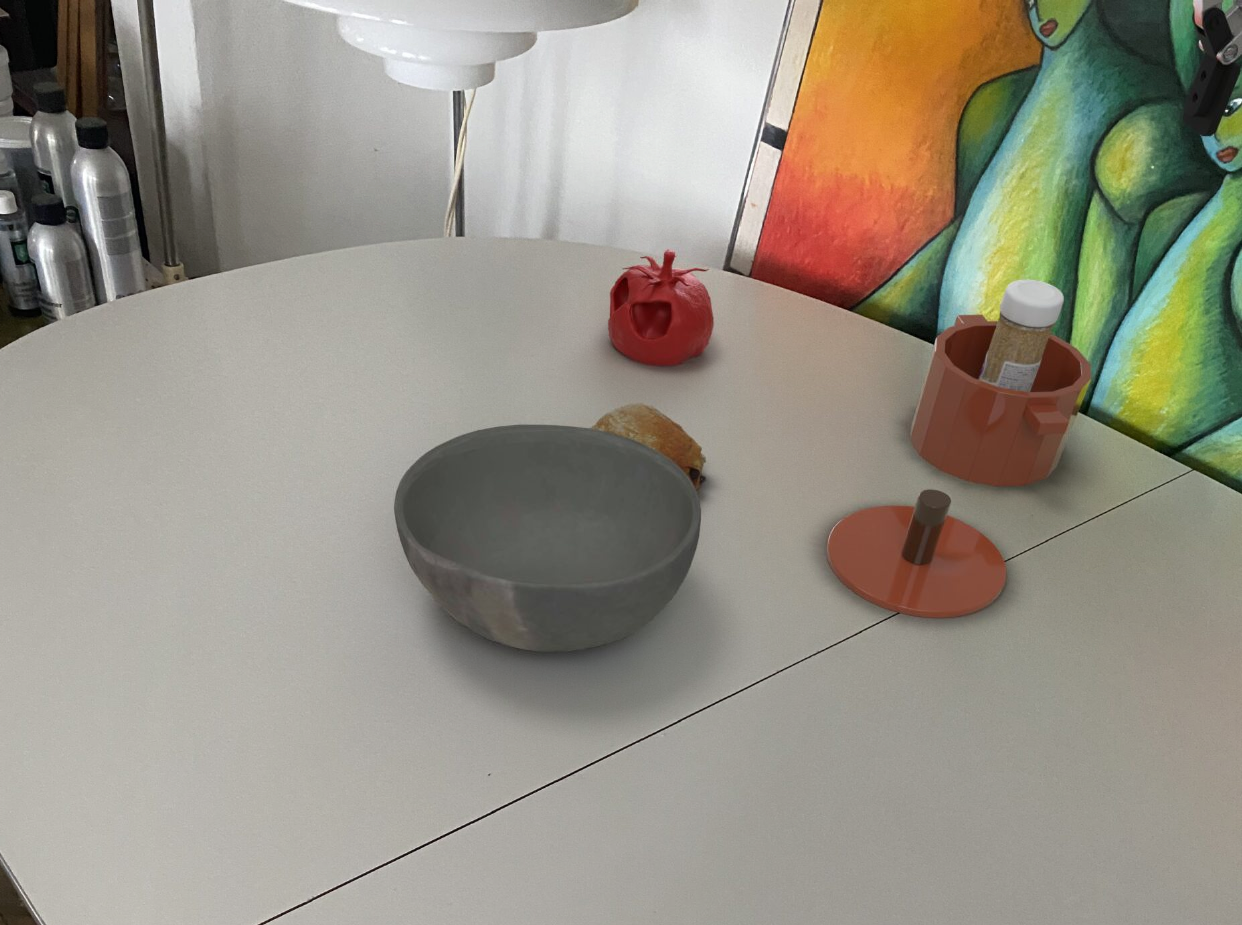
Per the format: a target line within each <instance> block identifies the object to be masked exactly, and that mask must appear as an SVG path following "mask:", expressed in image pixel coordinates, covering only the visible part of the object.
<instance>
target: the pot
mask: <svg viewBox="0 0 1242 925" xmlns="http://www.w3.org/2000/svg"><path fill="white" fill-rule="evenodd" d="M997 323H998V320H987V319H986V317H985V316H984V315H983V314H957V315H956V317H955V321H954V324H953V326H949V327H947V328H946V329H945V330H944V331H943V332H942V333H940V334H939V335H938V336H937V337H936V338H935V341H934V344H933V347H932V351H931V354H930V358H929V362H928V365H927V369H926V372H925V375H924V379H923V383H922V386H921V390H920V393H919V398H918V401H917V404H916V408H915V411H914V415H913V418H912V422H911V426H910V434H909V441H910V444H912V446H913V448H914V449H915V451H916V452H917V454H918V456H919V457H920V458H922V459H923V460H924V461H926V462H927V463H929V464H930V465H931V466H933V467H935V468H936V469H937V470H939V471H940V472H943V473H945V474H948V475H950V476H952V477H956V478H958V479H961V480H963V481H964V482H965V481H966V482H969V483H974V484H980V485H986V486H992V487H999V488H1000V487H1022V486H1028V485H1031V484H1034V483H1037V482H1039V481H1042V480H1045V479H1047V478H1048V477H1049V476H1050V475H1052V473H1053V472H1054V470H1055V469H1056V468H1057V467H1058V465H1059V463H1060V459H1061V457H1062V455H1063V452H1064V449H1065V448H1066V444H1067V442H1068V440H1069V436H1070V434H1071V432H1072V430H1073V426H1074V424H1075V422H1076V419H1077V416H1078V414H1079V411H1080V409H1081V406H1082V403H1083V401H1084V398H1085V396H1086V393H1087V391H1088V389H1089V386H1090V383H1091V381H1092V379H1093V378H1092V369H1091V363H1090V362H1089V360H1087V358H1086V357H1085V356H1084V355H1083V353H1082V352H1081V351H1080V350H1079V349H1078V347H1075V346H1074V345H1072V344H1070V343H1069V342H1067V341H1065V340H1064V339H1062V338H1061V337H1058V336H1057V335H1055V334H1051V333H1050V335H1049V338H1048V341H1047V344H1046V346H1045V349H1044V352H1043V355H1042V360H1041V363H1040V366H1039V368H1038V371H1037V374H1036V377H1035V380H1034V382H1033V385H1032V388H1031V391H1030V392H1023V391H1017V390H1011V389H1006V388H1000V387H997V386H994V385H991V384H989V383H986V382H983V381H980V380H978V379H979V376H980V373H981V370H982V367H983V364H984V361H985V358H986V354H987V352H988V350H989V348H990V344H991V341H992V338H993V335H994V332H995V329H996V326H997Z"/></svg>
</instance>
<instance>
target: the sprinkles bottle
mask: <svg viewBox="0 0 1242 925" xmlns="http://www.w3.org/2000/svg"><path fill="white" fill-rule="evenodd" d="M1064 301H1065V297H1064V294H1063V292H1062V291H1061V290H1060V289H1059V288H1057V287H1056V286H1055V285H1053V284H1050V283H1047V282H1044V281H1041V280H1036V279H1018V280H1014V281H1011V282H1010V283H1009V284H1008V285H1007V286H1006V287H1005V290H1004V293H1003V295H1002V299H1001V302H1000V305H999V315H998V316H999V317H998V319H997V321H998V323H997V326H996V329H995V332H994V335H993V338H992V341H991V344H990V348H989V350H988V352H987V354H986V358H985V361H984V364H983V367H982V370H981V373H980V376H979V379H978V380H980V381H983V382H986V383H989V384H991V385H994V386H997V387H1000V388H1006V389H1011V390H1017V391H1023V392H1030V391H1031V388H1032V385H1033V382H1034V380H1035V377H1036V374H1037V371H1038V368H1039V366H1040V363H1041V360H1042V355H1043V352H1044V349H1045V346H1046V344H1047V341H1048V338H1049V335H1050V334H1051V332H1052V328H1054V326H1055V324H1056V322H1057V321H1058V319H1059V317H1060V314H1061V311H1062V308H1063V304H1064Z"/></svg>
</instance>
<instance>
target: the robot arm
mask: <svg viewBox="0 0 1242 925" xmlns="http://www.w3.org/2000/svg"><path fill="white" fill-rule="evenodd" d="M1223 2H1224V0H1192V5H1193V7H1194V8H1193V9H1194V10H1193V12H1192V14H1191V21H1192V24H1193V26H1194V29H1195V31H1196V34H1197V37H1198V39H1199V41H1198V47H1199V49H1200V50H1201V51H1202V52H1204V53H1203V56H1202V58H1201V61H1200V63H1199V66H1198V69H1197V71H1196V74H1195V77H1194V79H1193V82H1192V84H1191V87H1190V90H1189V92H1188V95H1187V97H1186V100H1185V103H1184V110H1183V114H1182V122H1183V124H1185V125H1187V126H1188V127H1189V128H1190V129H1192V130H1193V131H1194V132H1196V133H1197V134H1198V135H1200V136H1201V137H1212V136H1213V135H1215V134H1216V133H1217V131H1218V129H1219V126H1220V124H1221V122H1222V119H1223V117H1224V114H1225V111H1226V109H1227V107H1228V104H1229V102H1230V99H1231V97H1232V95H1233V92H1234V89H1235V88H1236V85H1237V82H1238V80H1239V77H1240V75H1241V71H1242V66H1241V65H1240V64H1238V63H1236V60H1237V59H1238V58H1240V56H1242V0H1232V5H1231V6H1229V8H1228V9H1227V10H1226V11H1224V10H1223Z"/></svg>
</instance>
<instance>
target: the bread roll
mask: <svg viewBox="0 0 1242 925" xmlns="http://www.w3.org/2000/svg"><path fill="white" fill-rule="evenodd" d="M589 429H595V430H600V431H604V432H609V433H613V434H617V435H620V436H624V437H626V438H629V439H632V440H635V441H637V442H640V443H642V444H644V445H646V446H649V447H651V448H652V449H654V450H656V451H658V452H660V453H661V454H663V455H664V456H666V457H668V458H669V459H671V460H672V461H673V462H674V463H676V464H677V465H678V466H679V467H680V468H681V469H682V470H683V471H684V473H685V474H686V475H687V476H688V477H689V479H690V480H691V482H692V483H693V485H694V487H695V489H696V491H697V492H698V490H699V489H700V486H701V485H702V484H703V483H705V482H706V476H704V475H702V472H703V469H704V464H705V463H706V462H707V459H706V456H705V455H704V454H703V453H702V450H703V447H702V446H701V445H699V443H698V442H697V441H696V440H695V439H694V438H693V437H692V436H690V435H689V434H688V432H686V431H685V430H684V429H683V427H682V426H681V425H680V424H678V423H677V422H675V421H674V420H672V419H671V418H670V417H668V416H667V415H666V414H664V413H663V412H661V411H660V410H658V409H657V408H656V407H654V406H653V405H651V404H646V403H640V402H639V403H629V404H625V405H622V406H620V407H617V408H614V409H612V410H610V411H608V412H606V413H604V415H602V416H601V417H600V418H599V419H598V420H597V421H596V422H595V424H594V425H591V427H589Z"/></svg>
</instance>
